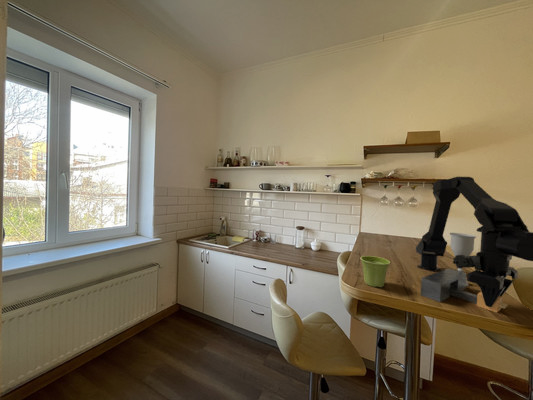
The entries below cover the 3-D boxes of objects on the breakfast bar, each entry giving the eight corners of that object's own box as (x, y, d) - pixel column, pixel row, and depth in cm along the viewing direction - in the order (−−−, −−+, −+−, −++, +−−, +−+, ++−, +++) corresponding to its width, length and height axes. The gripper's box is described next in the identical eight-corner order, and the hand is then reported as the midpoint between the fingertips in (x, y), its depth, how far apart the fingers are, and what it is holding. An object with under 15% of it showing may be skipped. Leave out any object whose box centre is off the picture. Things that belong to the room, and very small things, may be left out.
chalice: (472, 283, 77) (475, 235, 77) (474, 288, 72) (477, 237, 72) (446, 277, 82) (449, 232, 82) (446, 282, 77) (449, 234, 76)
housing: (447, 283, 76) (448, 268, 76) (465, 288, 72) (466, 273, 72) (420, 294, 66) (421, 277, 66) (439, 302, 62) (440, 283, 62)
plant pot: (354, 282, 74) (355, 258, 74) (366, 276, 80) (367, 254, 80) (381, 292, 67) (383, 265, 67) (393, 285, 73) (394, 260, 73)
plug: (431, 290, 70) (432, 279, 70) (437, 287, 72) (438, 277, 72) (503, 314, 56) (504, 302, 56) (507, 310, 58) (508, 298, 58)
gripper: (468, 241, 71) (466, 286, 71) (445, 246, 61) (442, 298, 62) (519, 249, 61) (516, 301, 62) (501, 257, 52) (497, 318, 52)
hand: (491, 304), depth 60 cm, fingers closed on plug, 4 cm apart
